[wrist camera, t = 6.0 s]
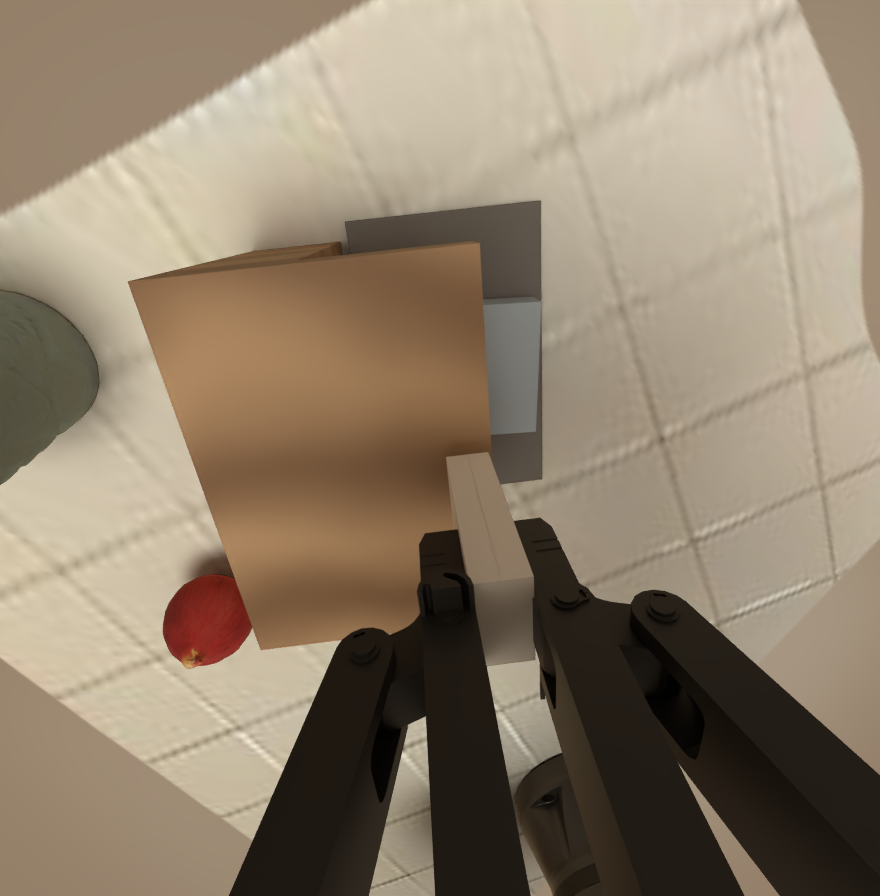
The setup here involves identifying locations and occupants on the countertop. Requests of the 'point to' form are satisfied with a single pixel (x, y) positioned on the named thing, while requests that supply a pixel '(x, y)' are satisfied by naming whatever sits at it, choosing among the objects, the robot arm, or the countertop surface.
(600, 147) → the countertop surface
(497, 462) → the mat
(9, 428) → the grey-green tapered bin
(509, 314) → the box
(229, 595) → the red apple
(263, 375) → the brown flat-topped block
